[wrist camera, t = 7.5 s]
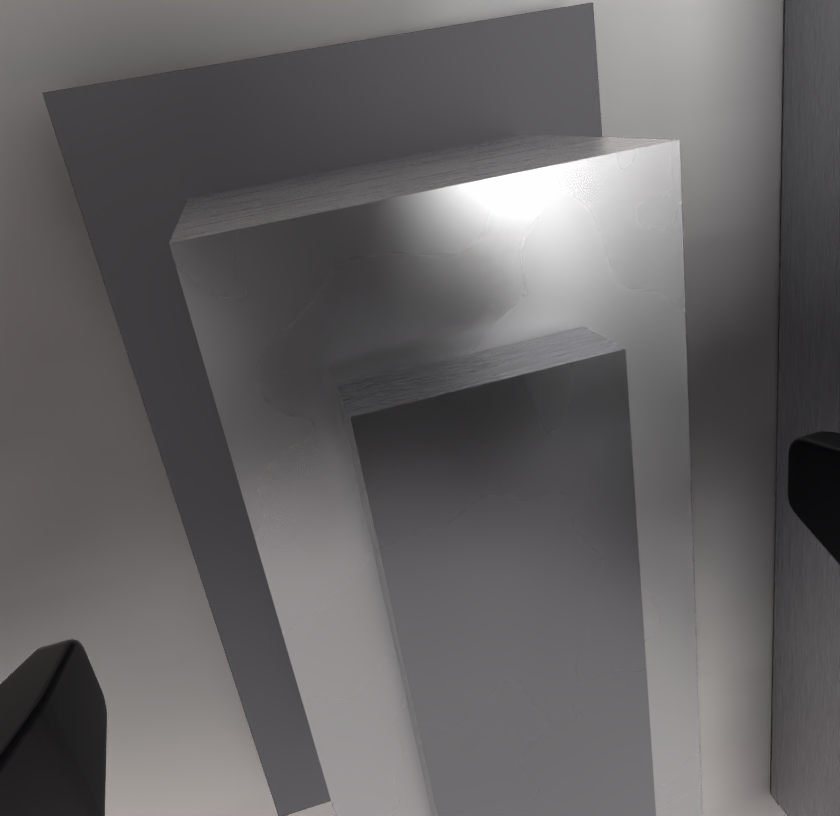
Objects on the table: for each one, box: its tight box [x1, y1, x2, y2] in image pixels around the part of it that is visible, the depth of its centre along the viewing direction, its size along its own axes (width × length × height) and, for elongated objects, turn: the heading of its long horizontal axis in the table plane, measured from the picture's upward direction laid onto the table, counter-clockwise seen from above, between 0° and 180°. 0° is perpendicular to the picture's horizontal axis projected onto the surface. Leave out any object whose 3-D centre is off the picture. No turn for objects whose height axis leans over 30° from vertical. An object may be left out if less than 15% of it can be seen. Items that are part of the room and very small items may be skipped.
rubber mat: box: [43, 3, 602, 816], centre depth 12 cm, size 12×7×1 cm, turn 10°
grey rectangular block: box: [169, 134, 702, 816], centre depth 10 cm, size 9×4×5 cm, turn 10°
